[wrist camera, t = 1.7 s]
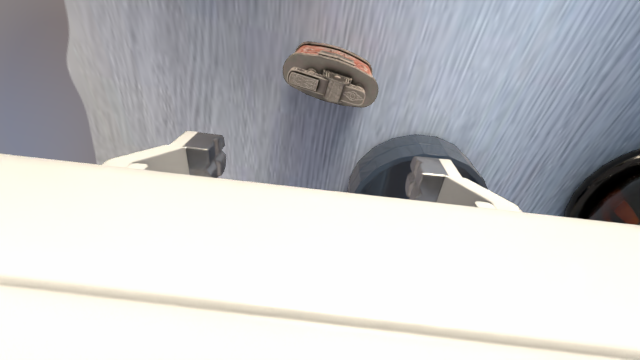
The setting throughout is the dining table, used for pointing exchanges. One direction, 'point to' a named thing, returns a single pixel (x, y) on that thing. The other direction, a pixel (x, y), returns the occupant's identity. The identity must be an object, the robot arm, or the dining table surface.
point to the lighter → (331, 74)
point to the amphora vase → (610, 192)
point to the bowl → (404, 165)
